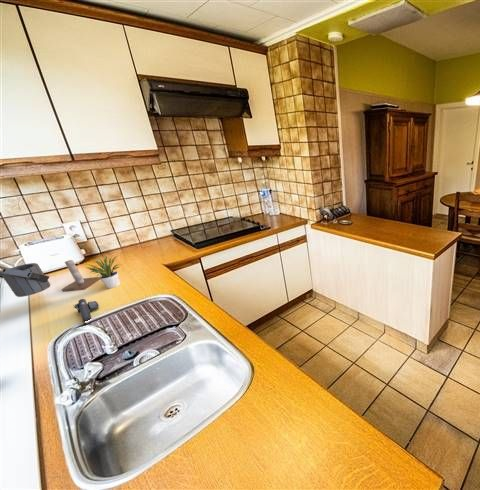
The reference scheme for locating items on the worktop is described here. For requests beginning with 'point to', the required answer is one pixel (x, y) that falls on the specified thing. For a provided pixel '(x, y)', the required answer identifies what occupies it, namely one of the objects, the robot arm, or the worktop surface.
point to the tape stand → (78, 279)
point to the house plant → (106, 272)
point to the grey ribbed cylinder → (26, 281)
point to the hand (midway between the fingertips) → (37, 278)
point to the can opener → (86, 308)
